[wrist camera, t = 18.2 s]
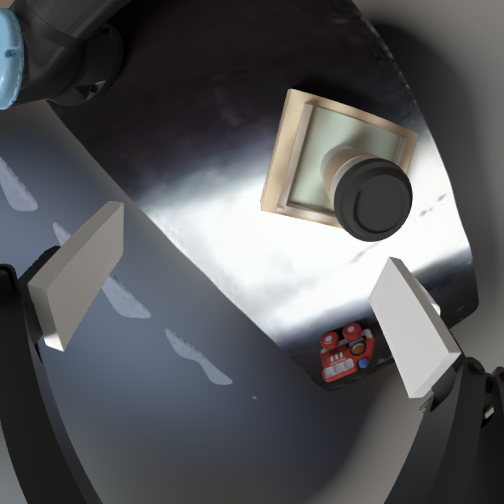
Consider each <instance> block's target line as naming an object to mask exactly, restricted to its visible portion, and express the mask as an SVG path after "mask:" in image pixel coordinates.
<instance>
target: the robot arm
mask: <svg viewBox="0 0 504 504" xmlns="http://www.w3.org/2000/svg"><path fill="white" fill-rule="evenodd" d="M130 1H131V0H15V1H14V2H13V3H12V4H11V6H10V7H9V8H0V109H7V108H9V107H12V106H17V105H21V104H25V103H30V102H34V101H39V100H44V99H49V100H52V101H54V102H56V103H59V104H61V105H66V106H75V105H82V104H86V103H89V102H91V101H93V100H95V99H97V98H98V97H100V96H101V95H102V94H104V93H105V92H106V91H107V90H108V89H109V87H110V86H111V85H112V83H113V82H114V80H115V79H116V77H117V75H118V73H119V71H120V68H121V65H122V61H123V52H124V50H123V42H122V38H121V35H120V33H119V32H118V30H117V29H116V28H115V27H114V26H113V25H112V24H110V23H109V22H107V21H108V20H109V19H110V18H111V17H112V16H113V15H115V14H116V13H117V12H118V11H119V10H120V9H122V8H123V7H124V6H125V5H126V4H128V3H129V2H130ZM123 211H124V203H119V202H114V201H109V202H108V203H107V204H105V205H104V206H103V207H102V208H101V209H100V210H99V211H98V212H97V213H96V214H94V215H93V216H92V217H91V218H90V219H89V220H88V221H87V222H86V223H85V224H84V225H83V226H82V227H81V228H80V229H79V230H78V231H77V232H76V233H75V234H73V235H72V236H71V237H70V238H69V239H68V240H67V241H66V243H65V244H64V245H63V246H62V247H60V246H54V247H52V248H50V249H48V250H46V251H45V252H44V253H43V254H42V255H41V256H40V257H39V258H38V260H36V261H35V262H34V263H33V265H32V266H30V267H29V268H28V269H27V271H26V272H25V273H24V274H23V275H22V276H21V277H20V278H19V279H17V275H16V272H15V269H14V267H13V266H11V265H8V264H0V421H1V425H2V430H3V433H4V437H5V441H6V445H7V448H8V451H9V455H10V458H11V461H12V464H13V467H14V470H15V473H16V476H17V478H18V481H19V484H20V486H21V489H22V491H23V494H24V496H25V498H26V501H27V503H28V504H103V503H102V502H101V500H100V498H99V497H98V495H97V493H96V491H95V489H94V488H93V486H92V484H91V482H90V480H89V478H88V476H87V474H86V473H85V471H84V469H83V466H82V464H81V462H80V460H79V458H78V456H77V454H76V452H75V450H74V448H73V445H72V443H71V440H70V438H69V436H68V434H67V431H66V428H65V426H64V423H63V421H62V418H61V416H60V413H59V410H58V407H57V404H56V402H55V399H54V396H53V393H52V390H51V386H50V383H49V380H48V376H47V373H46V369H45V366H44V362H43V358H42V354H41V350H40V347H39V344H38V341H39V339H40V337H41V336H42V334H43V337H44V340H45V342H46V345H48V346H50V347H53V348H55V349H58V350H61V351H64V350H65V348H66V346H67V344H68V342H69V341H70V338H71V337H72V335H73V333H74V332H75V330H76V328H77V326H78V325H79V323H80V321H81V320H82V318H83V316H84V314H85V313H86V311H87V309H88V308H89V306H90V304H91V303H92V301H93V300H94V298H95V296H96V294H97V293H98V292H99V290H100V288H101V287H102V285H103V284H104V282H105V281H106V279H107V277H108V276H109V274H110V273H111V271H112V270H113V268H114V267H115V265H116V264H117V262H118V261H119V259H120V257H121V256H122V255H123V214H124V212H123ZM368 300H369V302H370V304H371V306H372V308H373V311H374V313H375V315H376V317H377V319H378V322H379V324H380V326H381V328H382V331H383V333H384V335H385V338H386V340H387V342H388V345H389V347H390V350H391V352H392V354H393V357H394V359H395V362H396V364H397V367H398V369H399V372H400V374H401V377H402V379H403V382H404V384H405V387H406V390H407V392H408V395H409V398H417V397H423V396H424V395H425V394H426V393H427V392H428V391H429V390H430V389H431V388H432V390H433V393H434V394H433V395H432V396H431V397H430V398H429V399H428V400H427V401H426V402H425V403H424V404H423V405H422V406H421V407H420V409H419V411H421V410H422V409H423V408H425V407H426V409H425V411H424V412H423V413H424V415H423V418H422V421H421V424H420V426H419V429H418V432H417V434H416V437H415V439H414V442H413V444H412V447H411V449H410V451H409V454H408V456H407V458H406V460H405V463H404V465H403V467H402V469H401V471H400V473H399V476H398V477H397V480H396V482H395V484H394V486H393V487H392V490H391V491H390V493H389V495H388V497H387V499H386V501H385V502H384V504H504V368H503V367H500V366H499V367H497V368H496V369H495V370H494V371H493V373H492V374H490V373H486V372H485V370H484V368H483V366H482V365H481V363H480V362H479V361H478V360H476V359H475V358H473V357H466V356H465V355H464V353H463V351H462V350H461V348H460V346H459V344H458V343H457V341H456V339H455V338H454V337H453V334H452V333H451V331H450V330H449V328H448V326H447V324H446V323H445V321H444V320H443V319H442V318H441V317H440V316H439V315H438V313H437V311H436V310H435V308H434V307H433V305H432V304H431V302H430V301H429V299H428V298H427V296H426V295H425V293H424V292H423V290H422V289H421V287H420V286H419V284H418V283H417V282H416V280H415V279H414V277H413V276H412V274H411V273H410V272H409V270H408V269H407V267H406V266H405V265H404V263H403V262H402V261H401V259H397V258H393V257H389V258H388V260H387V262H386V264H385V266H384V268H383V270H382V272H381V274H380V276H379V278H378V280H377V282H376V284H375V286H374V288H373V290H372V292H371V294H370V296H369V298H368ZM492 407H493V408H494V413H492V414H491V415H490V416H489V417H488V418H487V419H486V418H485V414H486V413H487V412H488V411H489V410H490V409H491V408H492Z"/></svg>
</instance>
